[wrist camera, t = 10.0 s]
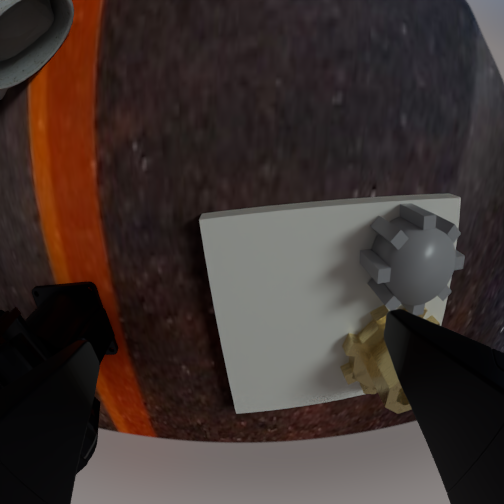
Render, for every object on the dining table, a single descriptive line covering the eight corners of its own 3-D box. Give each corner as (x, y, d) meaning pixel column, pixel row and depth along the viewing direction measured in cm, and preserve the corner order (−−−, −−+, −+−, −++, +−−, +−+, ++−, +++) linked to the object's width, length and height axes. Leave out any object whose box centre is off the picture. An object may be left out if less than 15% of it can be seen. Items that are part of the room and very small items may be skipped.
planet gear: (337, 392, 23) (353, 438, 19) (344, 311, 20) (370, 358, 16) (421, 371, 24) (445, 409, 19) (441, 292, 20) (478, 328, 16)
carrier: (236, 401, 25) (236, 442, 21) (201, 213, 19) (191, 237, 15) (419, 367, 25) (440, 399, 21) (449, 193, 19) (489, 209, 15)
